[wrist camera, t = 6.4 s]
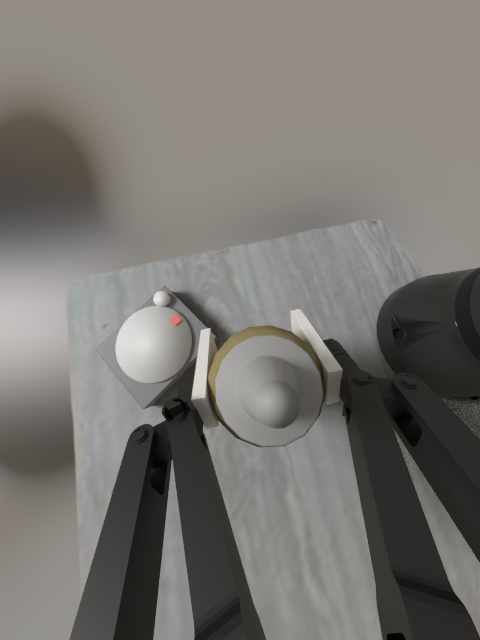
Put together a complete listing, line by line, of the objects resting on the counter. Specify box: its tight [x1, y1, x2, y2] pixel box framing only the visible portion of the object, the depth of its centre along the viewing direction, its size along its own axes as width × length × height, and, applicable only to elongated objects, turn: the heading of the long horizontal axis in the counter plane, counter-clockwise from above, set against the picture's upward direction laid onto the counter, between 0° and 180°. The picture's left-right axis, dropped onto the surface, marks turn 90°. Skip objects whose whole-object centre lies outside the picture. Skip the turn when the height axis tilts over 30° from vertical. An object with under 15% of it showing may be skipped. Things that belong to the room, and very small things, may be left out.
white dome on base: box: [95, 286, 219, 409], centre depth 26 cm, size 12×10×3 cm
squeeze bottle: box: [208, 326, 326, 447], centre depth 14 cm, size 8×8×18 cm
